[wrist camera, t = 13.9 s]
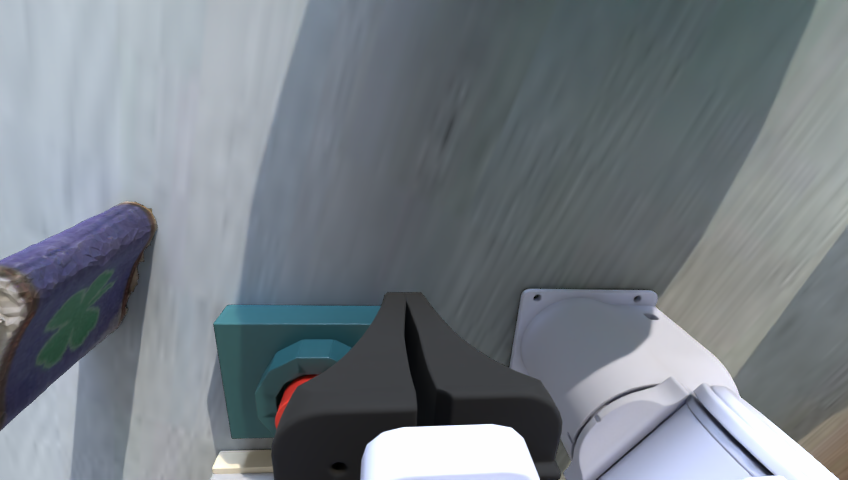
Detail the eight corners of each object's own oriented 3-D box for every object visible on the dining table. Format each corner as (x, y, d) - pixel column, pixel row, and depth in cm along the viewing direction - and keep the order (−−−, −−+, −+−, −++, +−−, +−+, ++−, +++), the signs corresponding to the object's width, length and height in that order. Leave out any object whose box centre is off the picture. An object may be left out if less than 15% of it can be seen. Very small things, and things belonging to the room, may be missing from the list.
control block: (415, 305, 26) (419, 342, 22) (409, 410, 29) (412, 457, 26) (227, 304, 25) (198, 342, 21) (242, 413, 28) (220, 463, 24)
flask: (120, 334, 25) (-60, 497, 15) (70, 316, 24) (-154, 474, 14) (166, 213, 22) (-13, 311, 12) (112, 188, 22) (-124, 272, 12)
